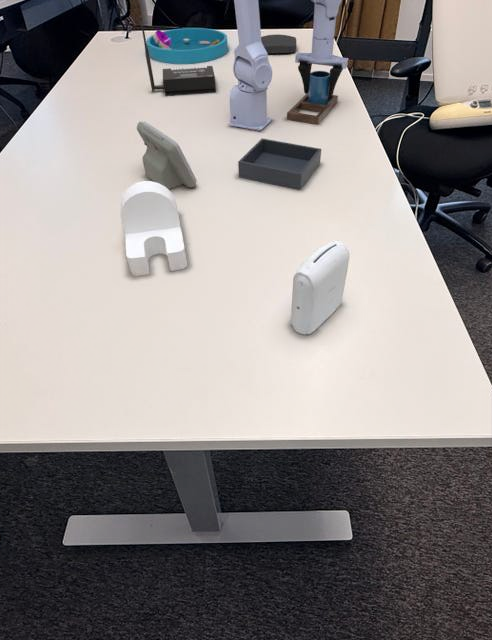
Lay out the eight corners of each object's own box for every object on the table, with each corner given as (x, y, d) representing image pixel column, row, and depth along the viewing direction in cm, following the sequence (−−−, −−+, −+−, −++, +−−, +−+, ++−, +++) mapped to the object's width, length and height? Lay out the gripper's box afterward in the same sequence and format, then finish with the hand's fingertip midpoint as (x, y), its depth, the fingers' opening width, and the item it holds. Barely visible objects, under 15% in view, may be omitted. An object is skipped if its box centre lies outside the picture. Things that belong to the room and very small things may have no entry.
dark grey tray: (238, 177, 100) (238, 161, 97) (261, 153, 107) (261, 138, 105) (300, 190, 96) (301, 174, 93) (320, 164, 103) (321, 148, 100)
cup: (304, 107, 126) (306, 76, 120) (311, 100, 129) (313, 69, 123) (323, 110, 124) (326, 78, 118) (330, 103, 128) (333, 72, 122)
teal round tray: (161, 39, 175) (158, 21, 170) (234, 40, 172) (233, 22, 167) (138, 62, 156) (134, 43, 151) (219, 64, 153) (218, 44, 148)
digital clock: (199, 189, 96) (193, 140, 88) (161, 199, 94) (151, 149, 86) (176, 159, 106) (168, 112, 98) (140, 168, 104) (129, 120, 95)
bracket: (188, 268, 78) (178, 211, 69) (131, 276, 77) (114, 219, 68) (177, 213, 90) (168, 158, 82) (128, 219, 89) (113, 164, 80)
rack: (286, 119, 121) (287, 112, 119) (308, 98, 131) (308, 91, 129) (318, 124, 118) (318, 117, 117) (337, 102, 128) (338, 95, 127)
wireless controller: (213, 77, 144) (207, 12, 131) (216, 92, 135) (211, 24, 122) (152, 81, 143) (141, 16, 129) (151, 96, 134) (139, 28, 120)
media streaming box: (296, 54, 158) (297, 44, 156) (257, 54, 159) (256, 44, 156) (295, 42, 168) (295, 33, 166) (257, 43, 168) (257, 33, 166)
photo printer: (308, 339, 66) (315, 276, 57) (286, 327, 68) (289, 263, 59) (344, 304, 71) (357, 240, 62) (323, 293, 73) (331, 229, 64)
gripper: (354, 35, 114) (346, 92, 125) (302, 30, 119) (299, 86, 129) (346, 42, 110) (339, 101, 121) (293, 37, 114) (291, 94, 125)
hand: (318, 94), depth 125 cm, fingers open, 7 cm apart
